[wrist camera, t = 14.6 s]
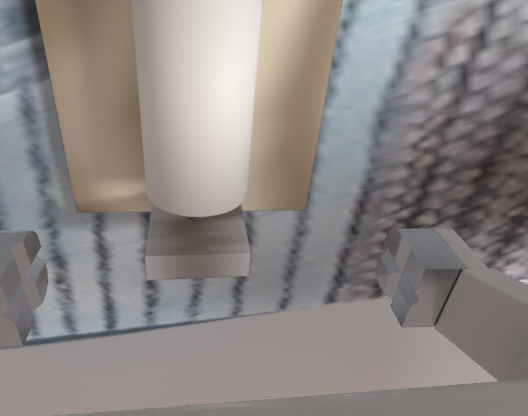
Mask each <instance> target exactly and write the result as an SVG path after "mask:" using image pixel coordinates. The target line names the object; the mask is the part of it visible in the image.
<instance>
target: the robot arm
mask: <svg viewBox="0 0 528 416" xmlns="http://www.w3.org/2000/svg"><path fill="white" fill-rule="evenodd" d="M384 243H385V244H386V246H387V248H388V249H387V250H386V251H385V252H384V253H383V254H382V255H381V256H380V258H379V261H378V265H377V278H378V282H379V285H380V287H381V289H382V291H383V293H384V294H386V295H387V296H389V297H390V298H392V299H393V300H392V303H391V308H392V310H393V312H394V314H395V316H396V317H397V319H398V321H399V323H400V325H401V327H435V329H436V330H437V331H439V332H440V333H441V334H442V335H444V336H445V337H446V338H447V339H448V340H450V341H451V342H452V343H453V344H454V345H456V346H457V347H458V348H459V349H460V350H462V351H463V352H464V353H465V354H466V355H468V356H469V357H470V358H471V359H473V360H474V361H475V362H476V363H477V364H479V365H480V366H481V367H482V368H483V369H485V370H486V371H487V372H488V373H489V374H491V375H492V376H493V377H494V378H495V379H497V380H498V381H499V382H486V383H473V384H460V385H447V386H434V387H421V388H408V389H395V390H381V391H369V392H357V393H356V392H355V393H342V394H329V395H316V396H303V397H290V398H277V399H265V400H253V401H252V400H251V401H238V402H226V403H212V404H199V405H186V406H174V407H160V408H147V409H134V410H121V411H107V412H94V413H82V414H68V415H55V416H528V285H526V284H524V283H522V282H520V281H518V280H516V279H514V278H512V277H510V276H508V275H506V274H504V273H502V272H500V271H499V270H497V269H489V268H488V267H487V266H486V265H485V264H484V263H483V262H482V261H481V259H480V258H479V257H478V256H477V255H476V254H475V253H474V252H473V251H472V250H471V248H470V247H469V246H468V245H467V244H466V243H465V242H464V241H463V240H462V239H461V237H460V236H459V235H458V234H457V233H456V232H455V231H454V230H453V229H451V228H449V227H437V228H422V229H391V230H390V231H389V232H388V234H387V236H386V239H385V242H384ZM40 247H41V245H40V242H39V239H38V236H37V234H36V233H35V232H33V231H11V230H0V348H3V347H17V346H23V345H24V343H25V341H26V338H27V336H28V334H29V332H30V329H31V327H32V325H33V323H34V321H35V320H34V317H33V314H32V311H33V310H35V309H36V308H37V307H39V306H40V305H41V304H42V302H43V300H44V297H45V295H46V290H47V284H48V274H47V268H46V264H45V262H44V261H43V260H42V259H40V258H39V257H38V256H37V253H38V251H39V249H40Z"/></svg>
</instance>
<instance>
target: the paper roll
mask: <svg viewBox="0 0 528 416" xmlns="http://www.w3.org/2000/svg"><path fill="white" fill-rule="evenodd" d="M131 4H132V16H133V29H134V41H135V54H136V67H137V79H138V92H139V104H140V117H141V130H142V142H143V155H144V167H145V180H146V192H147V196H148V198H149V200H150V201H151V202H152V203H153V204H154V205H155V206H157V207H158V208H160V209H162V210H164V211H166V212H169V213H172V214H176V215H180V216H188V217H207V216H214V215H219V214H223V213H226V212H229V211H231V210H233V209H235V208H236V207H238V206H239V205H240V204H241V203H242V202H243V201H244V200H245V198H246V195H247V186H248V174H249V162H250V149H251V137H252V124H253V112H254V100H255V87H256V75H257V62H258V50H259V38H260V25H261V13H262V0H131Z"/></svg>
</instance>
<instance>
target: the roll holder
mask: <svg viewBox="0 0 528 416" xmlns="http://www.w3.org/2000/svg"><path fill="white" fill-rule="evenodd" d="M35 2H36V7H37V12H38V17H39V22H40V27H41V32H42V38H43V43H44V48H45V53H46V58H47V63H48V68H49V73H50V79H51V84H52V89H53V94H54V99H55V104H56V109H57V114H58V120H59V125H60V130H61V135H62V140H63V145H64V150H65V155H66V160H67V166H68V171H69V176H70V181H71V186H72V191H73V196H74V201H75V207H76V212H151V215H150V222H149V230H148V237H147V244H146V251H145V264H146V276H147V280H163V279H188V278H213V277H239V276H249V266H250V256H251V252H250V247H249V242H248V237H247V232H246V227H245V222H244V217H243V212H242V211H274V210H305V209H306V203H307V198H308V192H309V187H310V181H311V175H312V170H313V164H314V159H315V153H316V147H317V142H318V136H319V131H320V125H321V120H322V114H323V108H324V103H325V97H326V92H327V86H328V80H329V75H330V69H331V64H332V58H333V53H334V47H335V41H336V36H337V30H338V25H339V19H340V13H341V8H342V2H343V0H262V13H261V25H260V38H259V50H258V62H257V75H256V87H255V100H254V112H253V124H252V137H251V149H250V162H249V174H248V186H247V195H246V198H245V200H244V201H243V202H242V203H241V204H240V205H239V206H238V207H236V208H235V209H233V210H231V211H229V212H226V213H223V214H219V215H214V216H207V217H188V216H180V215H176V214H172V213H169V212H166V211H164V210H162V209H160V208H158V207H157V206H155V205H154V204H153V203H152V202H151V201H150V200H149V198H148V196H147V192H146V180H145V167H144V155H143V142H142V130H141V117H140V104H139V92H138V79H137V67H136V54H135V41H134V29H133V16H132V4H131V0H35Z"/></svg>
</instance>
